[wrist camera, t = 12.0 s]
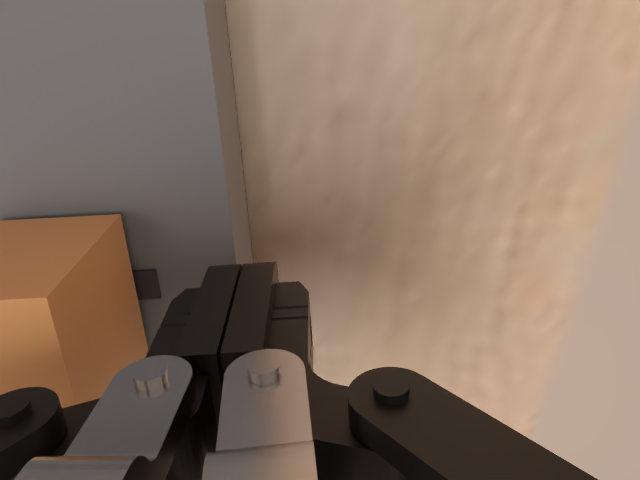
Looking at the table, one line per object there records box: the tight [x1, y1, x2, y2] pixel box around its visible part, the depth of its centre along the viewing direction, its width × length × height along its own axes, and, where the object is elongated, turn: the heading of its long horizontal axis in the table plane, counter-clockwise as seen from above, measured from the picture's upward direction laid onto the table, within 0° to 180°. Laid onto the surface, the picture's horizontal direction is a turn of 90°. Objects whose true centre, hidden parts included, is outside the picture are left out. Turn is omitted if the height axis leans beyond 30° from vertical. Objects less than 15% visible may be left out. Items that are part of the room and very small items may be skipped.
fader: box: [0, 214, 148, 408], centre depth 12 cm, size 4×3×4 cm
